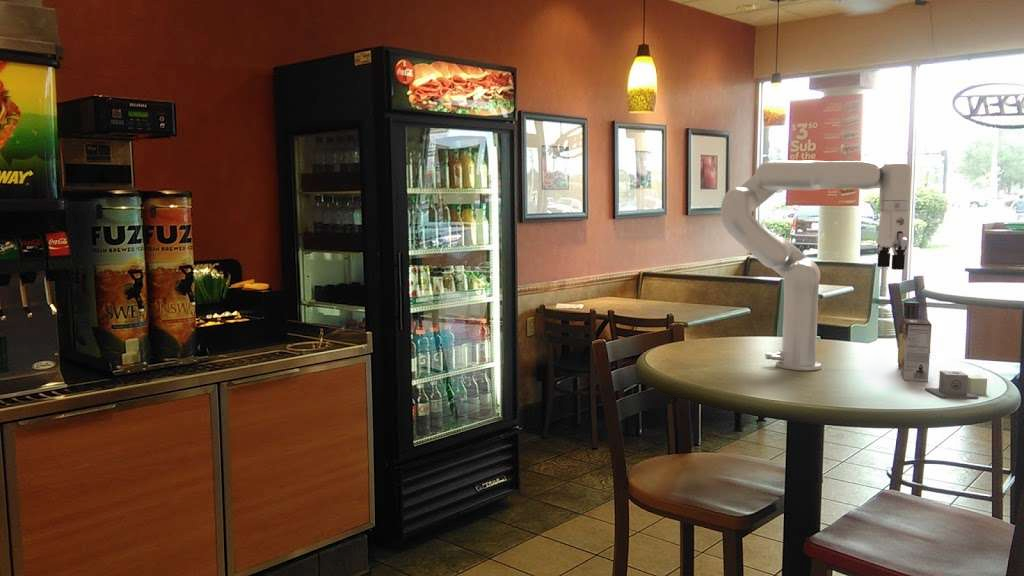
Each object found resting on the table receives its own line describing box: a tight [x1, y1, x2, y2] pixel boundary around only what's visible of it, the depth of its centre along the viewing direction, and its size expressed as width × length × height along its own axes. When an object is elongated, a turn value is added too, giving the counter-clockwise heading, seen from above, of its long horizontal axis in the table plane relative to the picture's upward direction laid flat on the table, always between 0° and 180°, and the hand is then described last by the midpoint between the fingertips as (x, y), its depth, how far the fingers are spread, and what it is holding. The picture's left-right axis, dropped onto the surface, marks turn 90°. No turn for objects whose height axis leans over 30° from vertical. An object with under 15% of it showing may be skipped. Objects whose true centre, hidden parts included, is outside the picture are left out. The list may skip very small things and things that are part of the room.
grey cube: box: [938, 370, 969, 395], centre depth 203 cm, size 5×5×5 cm
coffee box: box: [900, 318, 933, 383], centre depth 222 cm, size 9×6×16 cm
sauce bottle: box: [897, 301, 920, 370], centre depth 235 cm, size 7×6×20 cm
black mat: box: [924, 387, 979, 400], centre depth 203 cm, size 9×9×1 cm
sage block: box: [967, 374, 988, 395], centre depth 206 cm, size 4×4×4 cm
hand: (890, 268), depth 226 cm, fingers open, 9 cm apart
